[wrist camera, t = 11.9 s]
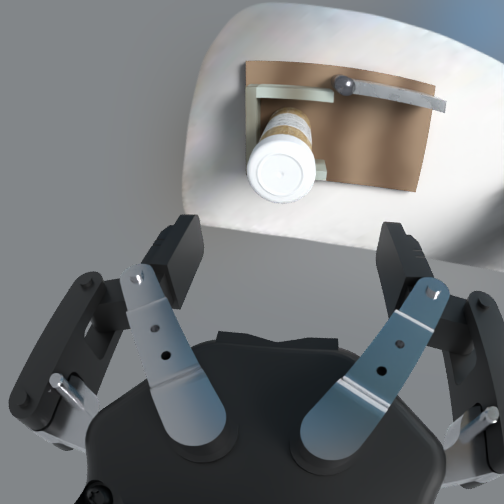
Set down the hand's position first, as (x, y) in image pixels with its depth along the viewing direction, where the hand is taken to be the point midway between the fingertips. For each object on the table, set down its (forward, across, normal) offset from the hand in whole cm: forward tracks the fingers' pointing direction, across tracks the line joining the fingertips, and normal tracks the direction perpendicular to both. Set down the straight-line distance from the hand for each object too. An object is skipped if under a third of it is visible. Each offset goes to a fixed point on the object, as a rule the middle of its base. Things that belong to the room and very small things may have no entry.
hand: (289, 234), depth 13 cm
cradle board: (+22, -5, 0) cm, 22 cm away
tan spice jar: (+21, +1, 0) cm, 21 cm away
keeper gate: (+21, -9, -5) cm, 23 cm away
